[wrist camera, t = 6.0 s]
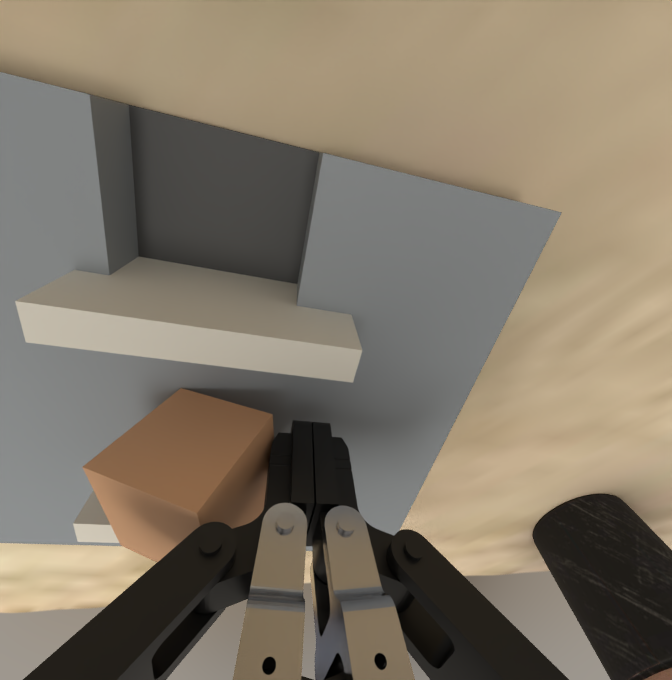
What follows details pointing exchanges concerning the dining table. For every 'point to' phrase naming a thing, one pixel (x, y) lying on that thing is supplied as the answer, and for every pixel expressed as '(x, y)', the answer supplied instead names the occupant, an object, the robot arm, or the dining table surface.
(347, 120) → the dining table surface
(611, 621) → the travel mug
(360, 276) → the tunnel deck
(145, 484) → the block
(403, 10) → the dining table surface
